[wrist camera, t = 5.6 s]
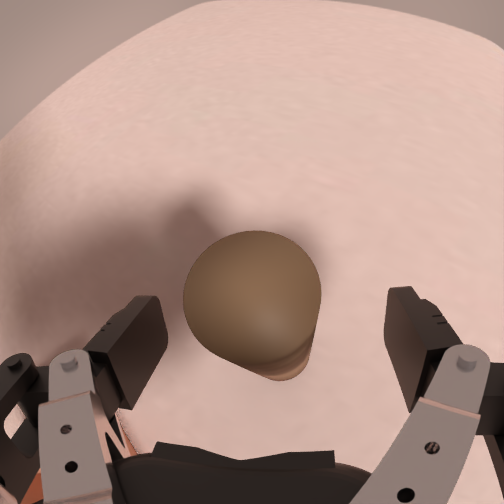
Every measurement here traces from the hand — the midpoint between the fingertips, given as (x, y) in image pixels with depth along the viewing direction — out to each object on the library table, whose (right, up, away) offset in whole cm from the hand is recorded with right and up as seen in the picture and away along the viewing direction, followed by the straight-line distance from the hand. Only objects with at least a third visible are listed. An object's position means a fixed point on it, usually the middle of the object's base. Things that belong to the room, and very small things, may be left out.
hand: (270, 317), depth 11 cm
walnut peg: (+1, -3, +5) cm, 6 cm away
